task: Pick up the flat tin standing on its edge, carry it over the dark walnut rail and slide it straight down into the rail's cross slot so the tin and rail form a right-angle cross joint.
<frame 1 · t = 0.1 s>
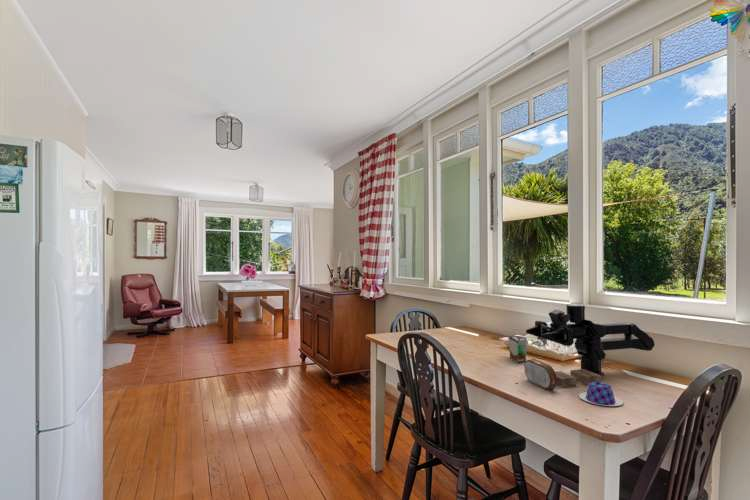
hand: (533, 333, 140), 17 cm above the table, tool horizontal, fingers open, 9 cm apart
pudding: (600, 401, 117), on the table
tin: (539, 386, 131), on the table
food container: (520, 360, 164), on the table
slotted rail: (573, 382, 134), on the table
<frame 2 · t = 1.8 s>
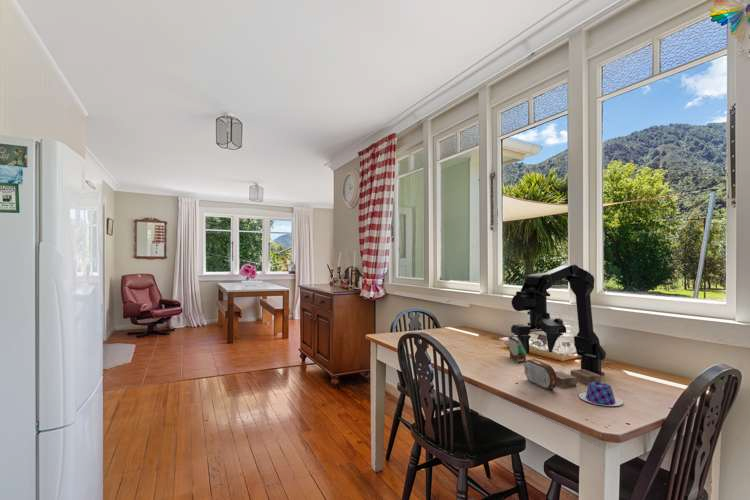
hand: (539, 352, 132), 11 cm above the table, tool pointing down, fingers open, 9 cm apart
nothing on the table moved.
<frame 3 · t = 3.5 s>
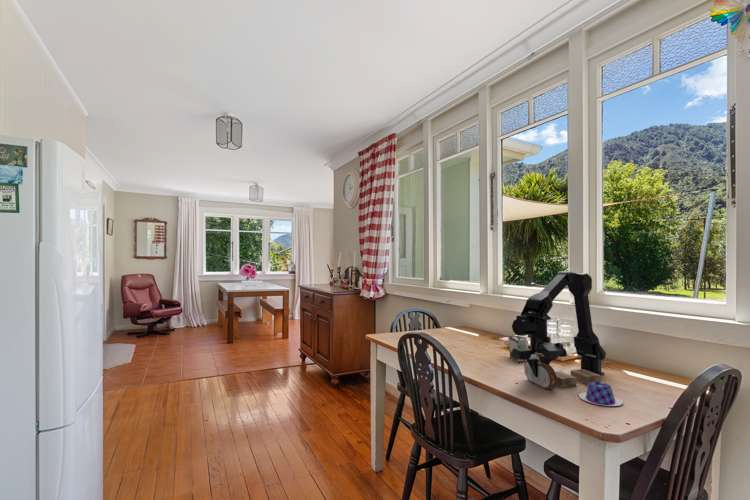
hand: (539, 376, 131), 3 cm above the table, tool pointing down, fingers closed on tin, 3 cm apart
tin: (539, 385, 131), on the table, touching gripper
everything else where it was.
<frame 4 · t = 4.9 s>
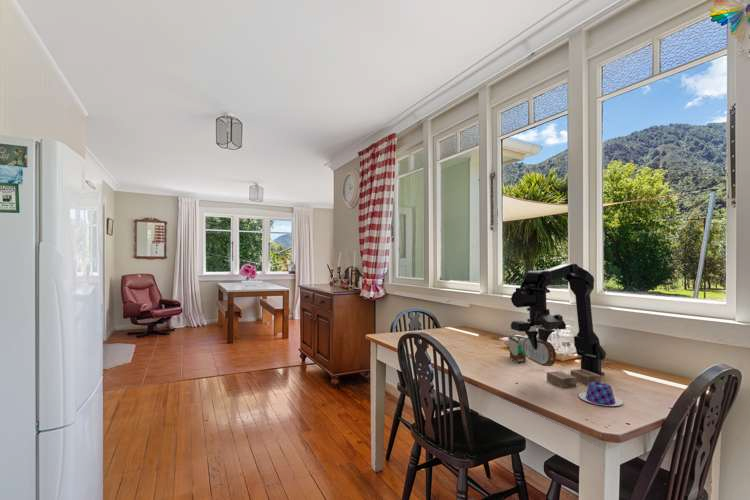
hand: (538, 349, 132), 13 cm above the table, tool pointing down, fingers closed on tin, 3 cm apart
tin: (537, 363, 131), point 8 cm above the table, touching gripper
everything else where it was.
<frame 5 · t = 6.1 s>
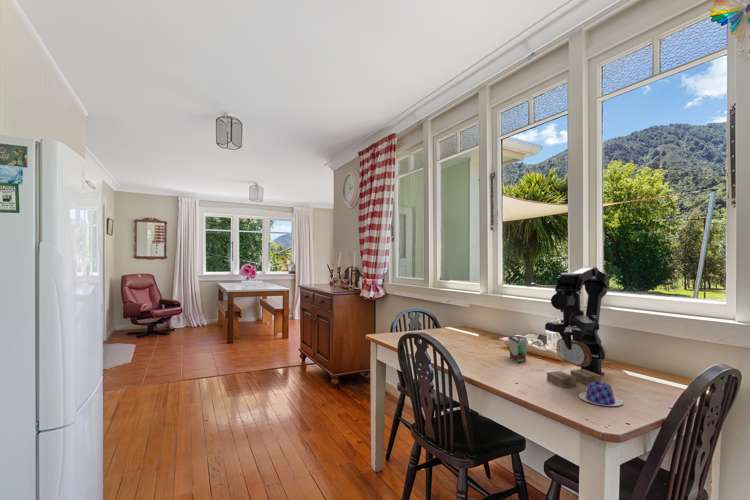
hand: (572, 349, 135), 12 cm above the table, tool pointing down, fingers closed on tin, 3 cm apart
tin: (571, 363, 134), point 7 cm above the table, touching gripper
everything else where it was.
when the fingers open (4 cm above the table, at t = 7.9 s): tin stays where it is, on the table.
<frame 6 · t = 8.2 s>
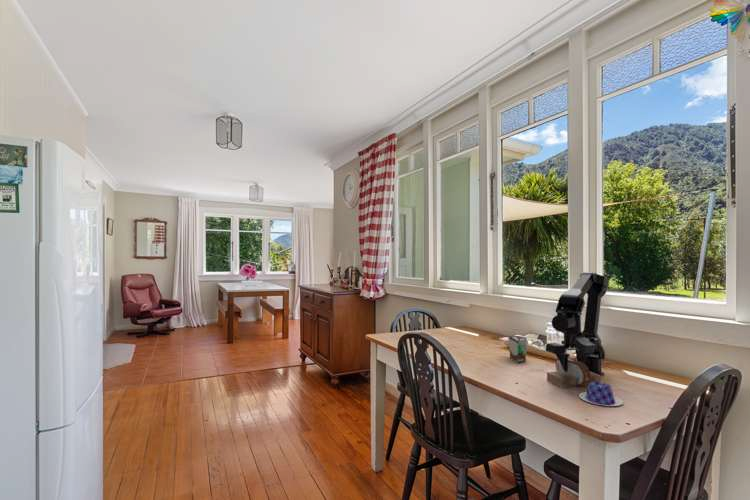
hand: (573, 371, 134), 4 cm above the table, tool pointing down, fingers open, 6 cm apart
tin: (572, 382, 134), on the table
everything else where it was.
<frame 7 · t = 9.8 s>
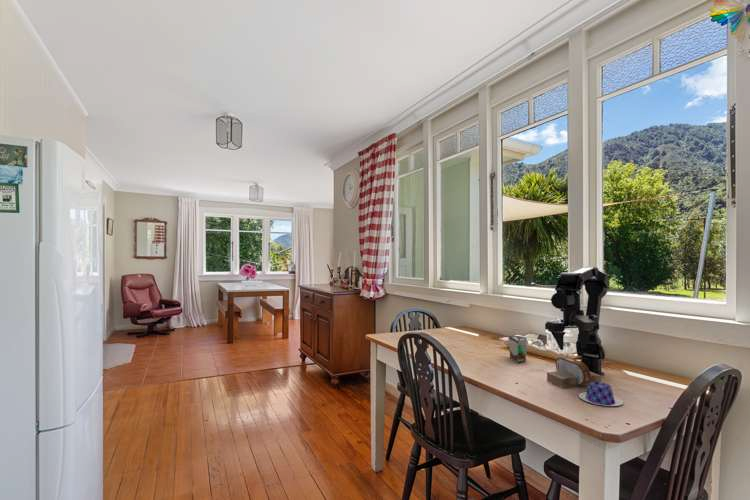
hand: (572, 349, 135), 12 cm above the table, tool pointing down, fingers open, 9 cm apart
nothing on the table moved.
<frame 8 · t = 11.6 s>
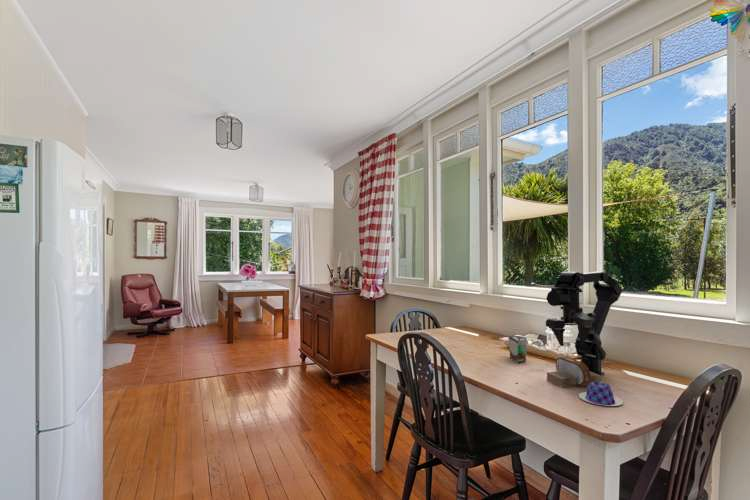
hand: (572, 345, 140), 12 cm above the table, tool pointing down, fingers open, 9 cm apart
nothing on the table moved.
at the end: tin 0.5 cm off-centre on the slotted rail, point 0.0 cm above the slotted rail's base; tin tilted 0°; the gripper is holding nothing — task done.
